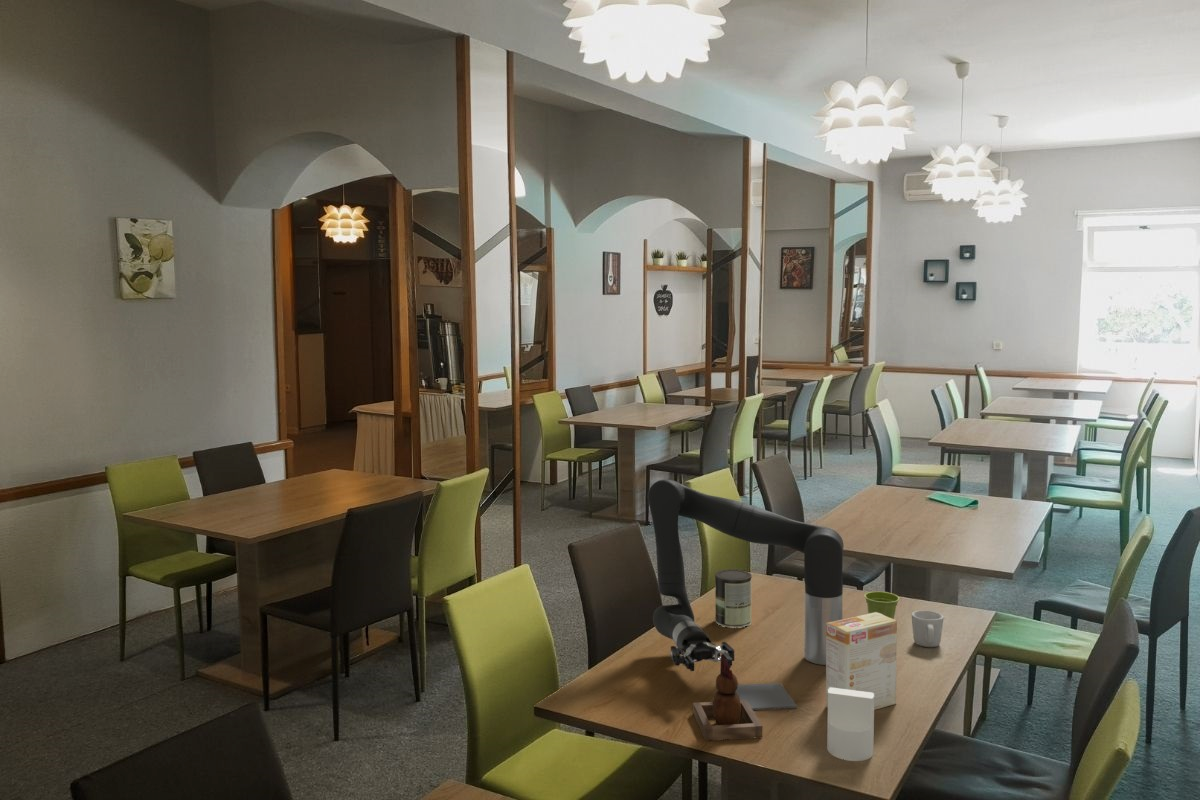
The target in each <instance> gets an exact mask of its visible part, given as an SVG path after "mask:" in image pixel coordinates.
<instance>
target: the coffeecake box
mask: <svg viewBox="0 0 1200 800" xmlns="http://www.w3.org/2000/svg"><path fill="white" fill-rule="evenodd" d="M897 622H898V620H896V619H895V618H894V619H892V618H889V617H887V616H884V615H883V614H880V613H877V612H874V613H869V614H868V613H866V614H861V615H857V616H852V617H849V618H848V617H847V618H844V619H843V618H842V620H838V621H834V622H829V623H826V665H825V679H826V680H825V707H826V708H827V709H828V689H829V688H830V687H833V688H840V689H848V690H856V691H864V692H872V693H874V711H875V710H879V709H883V708H886V707H890V706H893V705H897V651H898V649H897V641H898V639H897V637H898V636H897V630H898V627H897V626H898V623H897Z"/></svg>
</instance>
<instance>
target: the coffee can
mask: <svg viewBox="0 0 1200 800" xmlns="http://www.w3.org/2000/svg"><path fill="white" fill-rule="evenodd" d="M752 577H753V575H752V573H750V572H749V571H745V570H742V569H722V570H718V571H717V572H715V573H714V579H715V583H714V585H715V586H714V587H715V590H714V591H715V592H714V593H715V597H714V599H715V601H714V602H715V621H714V622H716V623H717V624H718V625H717V624H716V623H715V624H716V625H717V626H719V625H721V626H725V627H734V628H733V629H739V628H738V627H744V628H746V627H745V626H747V627H749V626H751V625H752ZM748 625H749V626H748ZM721 626H720V627H721ZM725 627H724V628H725ZM735 627H736V628H735Z"/></svg>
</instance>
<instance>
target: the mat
mask: <svg viewBox="0 0 1200 800" xmlns="http://www.w3.org/2000/svg"><path fill="white" fill-rule="evenodd" d="M736 693H737V694H738V696H739V698H740V700H747V702H748V703H749V705H750V707H751V708H752V710H753V711H763V710H762V709H771V710H781V709H780V708H784V710H785V709H786V710H787V708H788V709H797V708H798V705H797V704H796V702H795V701H794V700H793V698H792V697H791V695H790V694H789V693H788V691H787V690H786V688H785V687H784V686H783V685H782V683H781V682H769V683H752V684H751V683H750V684H747V683H746V684H738V688H737V690H736Z"/></svg>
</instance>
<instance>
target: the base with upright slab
mask: <svg viewBox="0 0 1200 800" xmlns="http://www.w3.org/2000/svg"><path fill="white" fill-rule="evenodd" d="M874 724H875V710H874V693H872V692H864V691H856V690H848V689H840V688H833V687H830V688H829V689H828V708H827V737H826V738H827V741H826V742H827V746H826V747H827V752H828V753H829V754H830V755H831V756H833V757H835V758H838V759H840V760H843V759H844V760H843V761H849V762H860V761H866V760H869V759H871V758H872V757H873V756H874V742H875V741H874V732H875V731H874V726H875V725H874Z"/></svg>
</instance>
